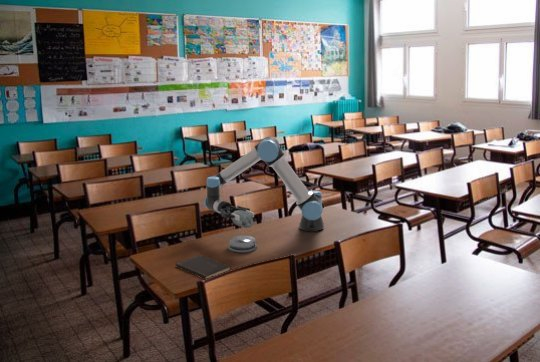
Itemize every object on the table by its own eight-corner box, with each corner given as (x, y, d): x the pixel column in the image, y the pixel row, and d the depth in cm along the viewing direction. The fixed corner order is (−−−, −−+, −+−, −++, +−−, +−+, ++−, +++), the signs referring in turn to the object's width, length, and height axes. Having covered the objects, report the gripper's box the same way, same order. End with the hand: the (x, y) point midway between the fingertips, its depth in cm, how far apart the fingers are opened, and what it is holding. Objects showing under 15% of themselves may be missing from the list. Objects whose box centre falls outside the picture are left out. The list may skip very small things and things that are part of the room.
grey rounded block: (259, 221, 278) (249, 206, 276) (246, 232, 274) (236, 217, 272) (247, 220, 290) (238, 206, 287) (235, 231, 286) (225, 216, 283)
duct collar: (245, 240, 294) (245, 233, 293) (263, 248, 282) (263, 240, 281) (222, 247, 285) (222, 239, 284) (239, 255, 273) (239, 247, 272)
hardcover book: (200, 258, 270) (200, 254, 269) (230, 270, 255) (230, 266, 254) (175, 267, 259) (175, 263, 258) (205, 280, 243) (205, 276, 243)
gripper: (238, 210, 302) (262, 219, 285) (206, 217, 289) (229, 227, 272) (238, 197, 300) (262, 206, 283) (206, 204, 287) (229, 213, 270)
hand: (246, 216), depth 277 cm, fingers closed on grey rounded block, 9 cm apart
